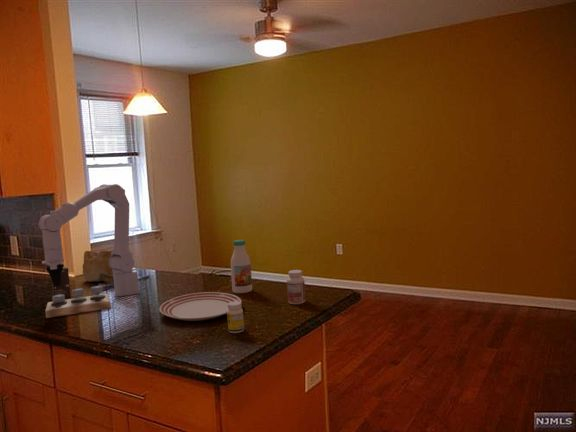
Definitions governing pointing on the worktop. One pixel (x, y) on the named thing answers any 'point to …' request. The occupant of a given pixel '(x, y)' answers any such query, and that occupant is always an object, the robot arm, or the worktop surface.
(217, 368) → the worktop surface
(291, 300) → the pill bottle
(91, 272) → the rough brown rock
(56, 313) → the button board
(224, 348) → the worktop surface
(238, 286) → the milk bottle
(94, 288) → the button
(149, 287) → the worktop surface
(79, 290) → the button middle
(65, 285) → the box
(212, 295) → the dinner plate
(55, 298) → the button
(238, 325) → the supplement bottle
